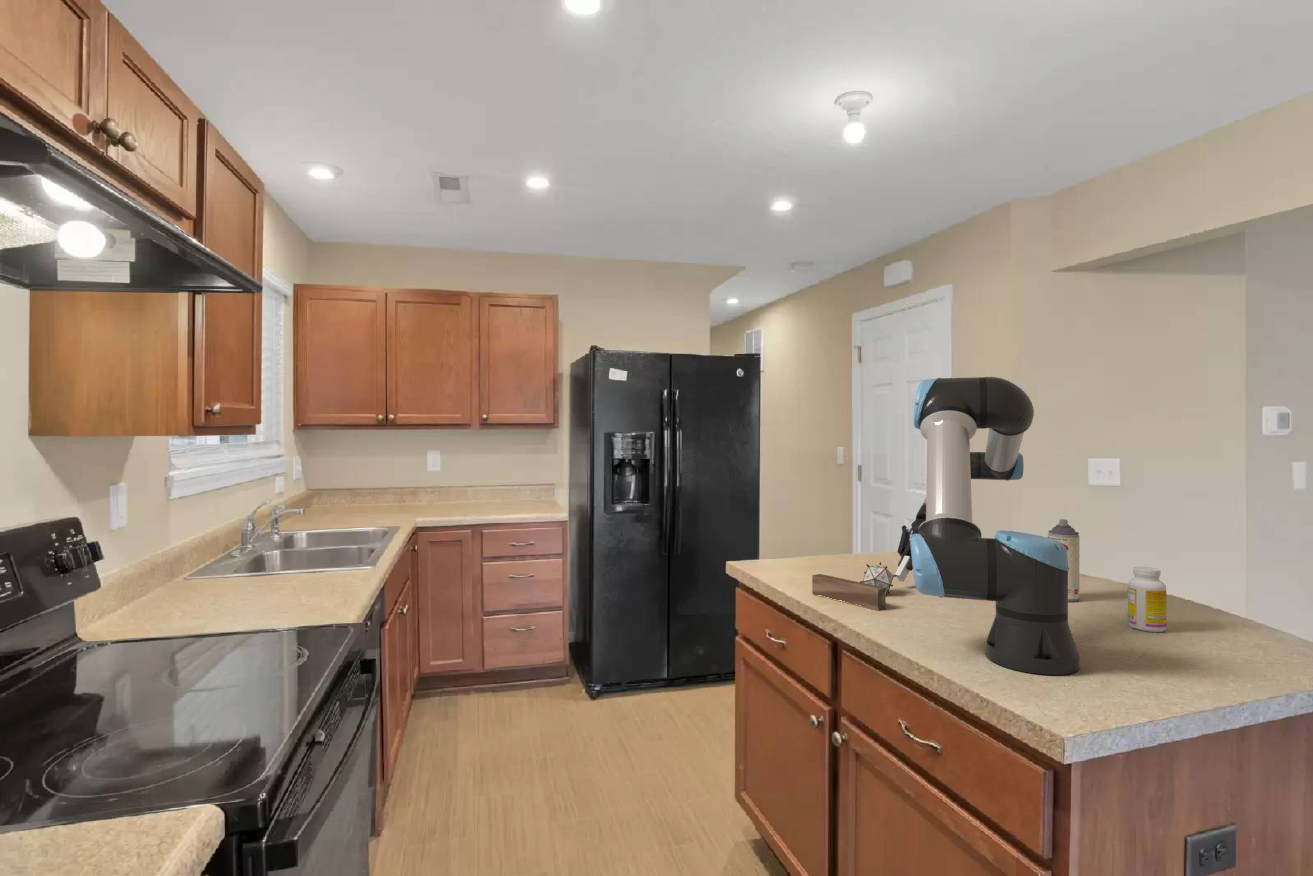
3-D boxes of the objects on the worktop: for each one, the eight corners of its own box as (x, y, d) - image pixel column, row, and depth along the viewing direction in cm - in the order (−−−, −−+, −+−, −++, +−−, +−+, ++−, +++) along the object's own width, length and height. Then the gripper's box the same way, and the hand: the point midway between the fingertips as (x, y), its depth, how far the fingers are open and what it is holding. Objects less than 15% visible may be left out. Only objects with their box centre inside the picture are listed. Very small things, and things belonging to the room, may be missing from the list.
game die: (885, 609, 173) (904, 583, 168) (855, 597, 173) (873, 571, 168) (882, 585, 181) (900, 560, 175) (853, 574, 181) (870, 548, 175)
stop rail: (877, 610, 158) (877, 589, 158) (812, 594, 174) (812, 575, 174) (885, 608, 160) (885, 587, 160) (820, 592, 176) (820, 573, 176)
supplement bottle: (1172, 630, 142) (1172, 569, 142) (1157, 635, 138) (1157, 573, 138) (1136, 622, 148) (1136, 564, 148) (1121, 627, 144) (1121, 567, 144)
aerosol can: (1041, 597, 170) (1041, 518, 170) (1060, 594, 173) (1060, 517, 173) (1066, 603, 164) (1066, 522, 164) (1085, 600, 167) (1085, 520, 166)
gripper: (961, 522, 186) (927, 591, 176) (919, 518, 196) (884, 582, 187) (950, 504, 183) (915, 573, 173) (908, 501, 193) (872, 565, 183)
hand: (899, 578), depth 180 cm, fingers closed
